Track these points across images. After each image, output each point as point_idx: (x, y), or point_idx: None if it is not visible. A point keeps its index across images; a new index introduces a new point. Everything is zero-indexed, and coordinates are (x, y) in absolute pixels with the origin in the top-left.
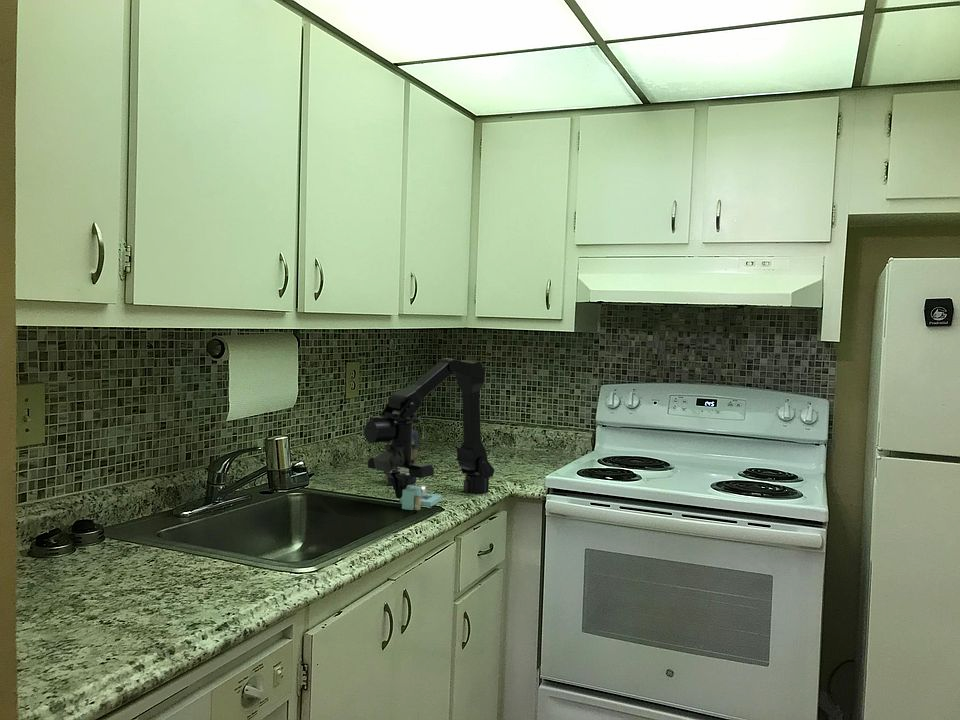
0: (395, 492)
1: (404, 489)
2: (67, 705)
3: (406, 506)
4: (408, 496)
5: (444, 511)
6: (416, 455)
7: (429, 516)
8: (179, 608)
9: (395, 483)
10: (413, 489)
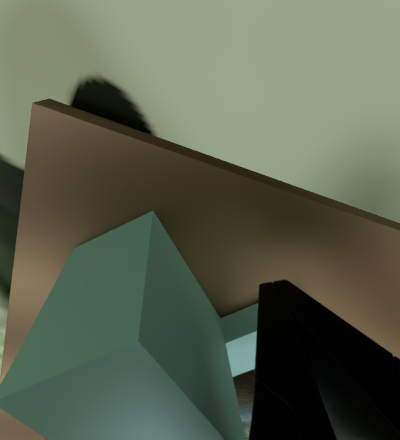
0: (315, 306)
1: (150, 371)
2: None
3: (115, 239)
4: (76, 312)
5: None
6: None
7: (2, 290)
8: None
9: (373, 406)
10: (90, 436)
